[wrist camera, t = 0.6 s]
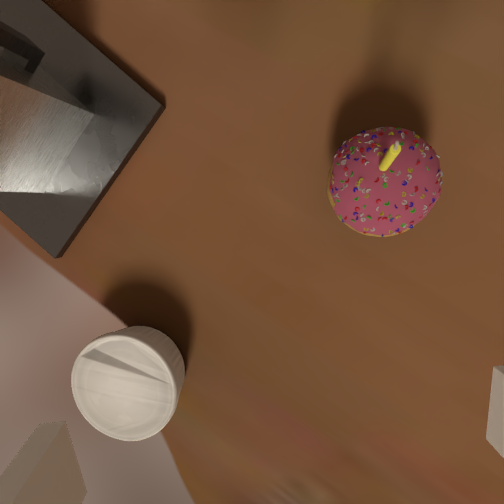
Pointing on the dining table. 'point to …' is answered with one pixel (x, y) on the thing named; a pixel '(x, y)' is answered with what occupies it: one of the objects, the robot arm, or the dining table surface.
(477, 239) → the dining table surface
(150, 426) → the ramekin
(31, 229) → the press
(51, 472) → the robot arm
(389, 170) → the cupcake
